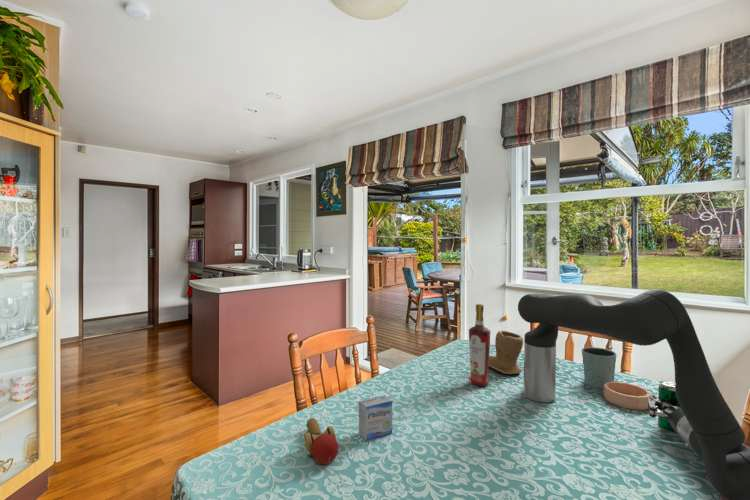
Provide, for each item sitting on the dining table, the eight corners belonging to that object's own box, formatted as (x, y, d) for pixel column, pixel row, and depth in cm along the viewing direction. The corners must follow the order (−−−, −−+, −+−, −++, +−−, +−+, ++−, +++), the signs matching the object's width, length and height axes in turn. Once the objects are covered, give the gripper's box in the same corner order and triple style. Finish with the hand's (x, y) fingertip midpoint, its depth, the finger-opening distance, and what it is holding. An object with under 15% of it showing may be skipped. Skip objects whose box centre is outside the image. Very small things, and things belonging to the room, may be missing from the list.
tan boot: (530, 374, 131) (530, 335, 131) (503, 378, 128) (503, 337, 128) (504, 361, 146) (504, 326, 146) (479, 364, 142) (479, 328, 142)
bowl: (609, 406, 105) (610, 393, 105) (600, 390, 116) (600, 379, 116) (656, 412, 101) (657, 399, 101) (642, 396, 112) (642, 384, 112)
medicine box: (365, 441, 87) (365, 407, 87) (358, 433, 91) (358, 400, 91) (393, 433, 91) (392, 400, 90) (384, 425, 95) (384, 394, 94)
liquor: (464, 384, 122) (465, 305, 122) (474, 378, 128) (474, 302, 128) (485, 389, 118) (485, 307, 117) (493, 383, 123) (493, 304, 123)
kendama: (294, 438, 91) (308, 469, 75) (298, 412, 92) (312, 438, 76) (323, 437, 94) (342, 467, 77) (326, 412, 95) (346, 437, 78)
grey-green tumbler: (621, 387, 120) (621, 352, 120) (608, 394, 114) (608, 357, 114) (589, 377, 128) (590, 345, 128) (575, 383, 123) (576, 350, 122)
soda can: (687, 434, 90) (688, 388, 90) (665, 432, 91) (665, 386, 91) (674, 424, 95) (675, 381, 95) (653, 422, 96) (654, 379, 96)
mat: (606, 406, 105) (606, 405, 105) (597, 392, 116) (597, 391, 116) (659, 414, 101) (659, 412, 101) (645, 398, 111) (645, 397, 111)
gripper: (739, 420, 77) (699, 389, 93) (659, 409, 82) (634, 382, 98) (738, 453, 77) (698, 417, 93) (659, 440, 82) (634, 408, 98)
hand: (666, 399), depth 95 cm, fingers closed on soda can, 5 cm apart
